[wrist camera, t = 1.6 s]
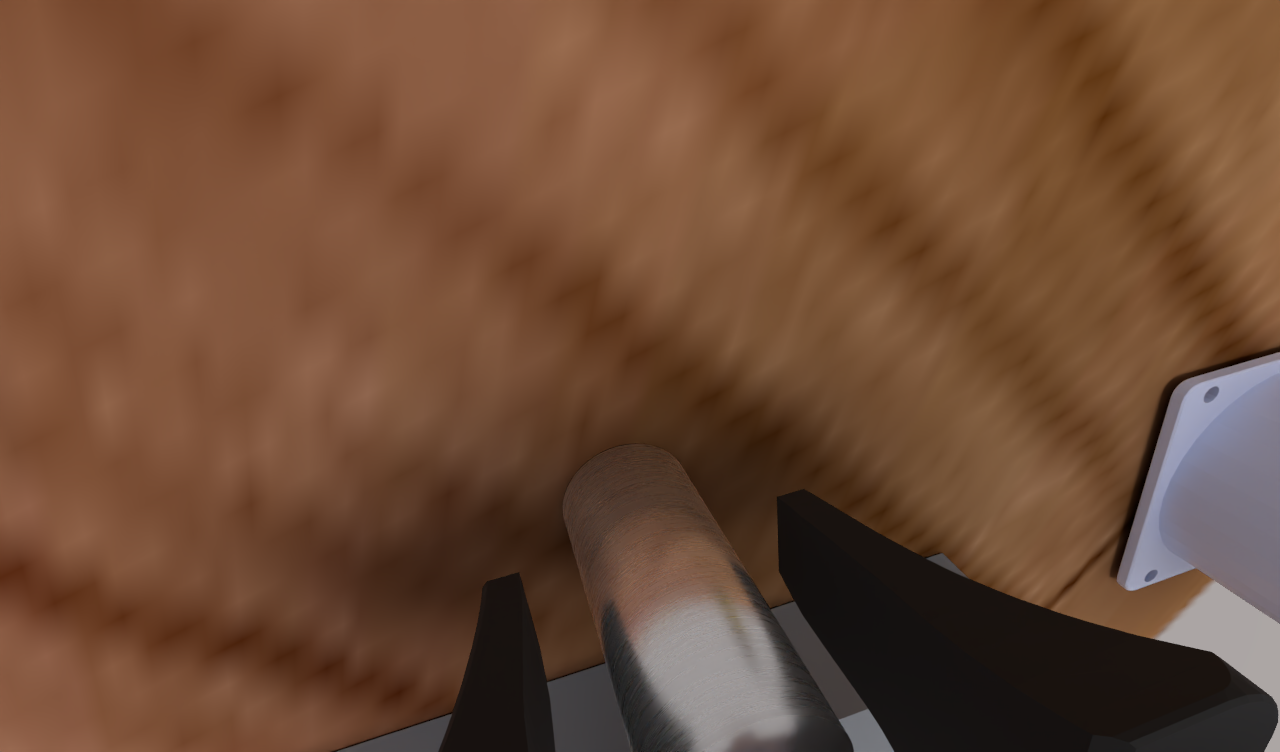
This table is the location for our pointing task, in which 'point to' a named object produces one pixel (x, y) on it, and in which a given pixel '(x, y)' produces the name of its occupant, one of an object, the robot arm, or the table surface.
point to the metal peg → (685, 618)
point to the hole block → (593, 721)
